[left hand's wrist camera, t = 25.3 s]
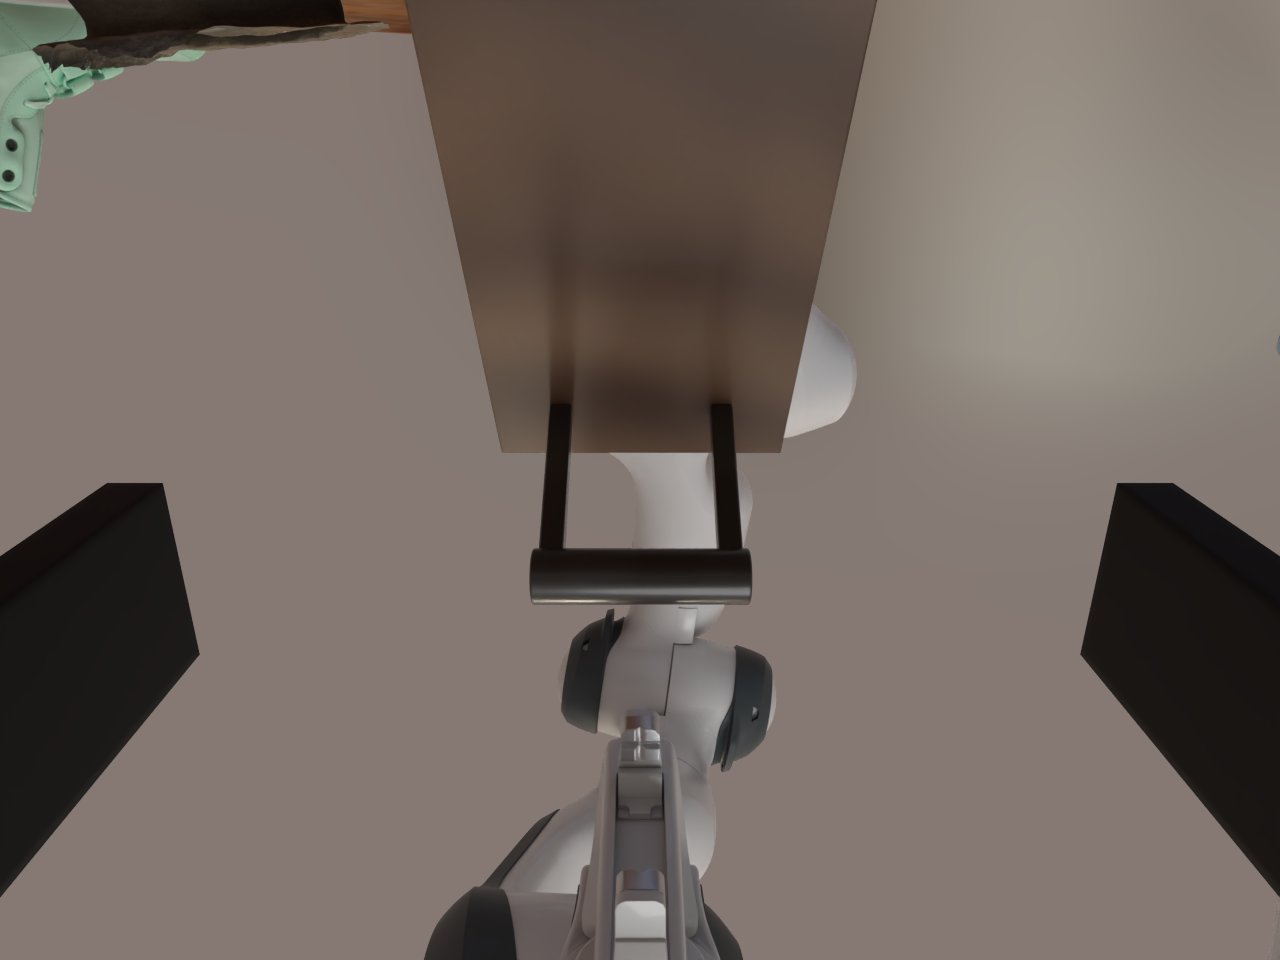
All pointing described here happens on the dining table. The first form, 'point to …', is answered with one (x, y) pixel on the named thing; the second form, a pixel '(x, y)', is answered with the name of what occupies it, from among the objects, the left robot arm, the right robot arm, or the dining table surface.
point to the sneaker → (37, 88)
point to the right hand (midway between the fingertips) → (640, 791)
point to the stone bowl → (193, 29)
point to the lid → (641, 239)
